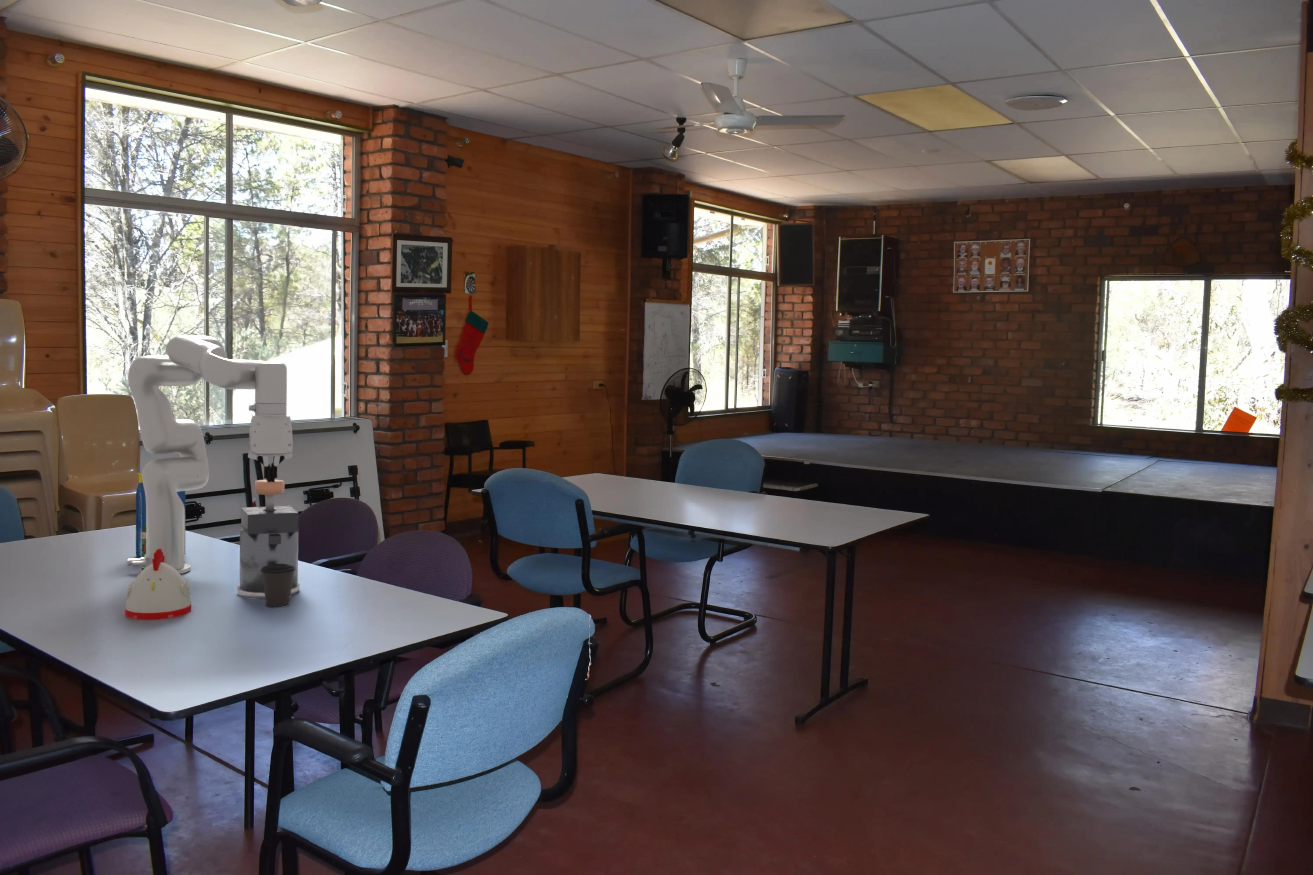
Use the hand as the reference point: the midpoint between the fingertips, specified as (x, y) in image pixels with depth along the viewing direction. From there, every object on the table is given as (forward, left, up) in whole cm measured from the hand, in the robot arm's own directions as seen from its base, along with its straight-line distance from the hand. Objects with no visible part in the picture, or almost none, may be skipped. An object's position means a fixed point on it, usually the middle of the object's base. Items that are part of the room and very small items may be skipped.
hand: (270, 481), depth 247 cm
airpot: (0, -1, -29) cm, 29 cm away
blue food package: (-22, +57, -29) cm, 68 cm away
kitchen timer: (-26, -11, -29) cm, 41 cm away
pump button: (0, 0, -7) cm, 8 cm away
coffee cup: (0, -14, -29) cm, 32 cm away
